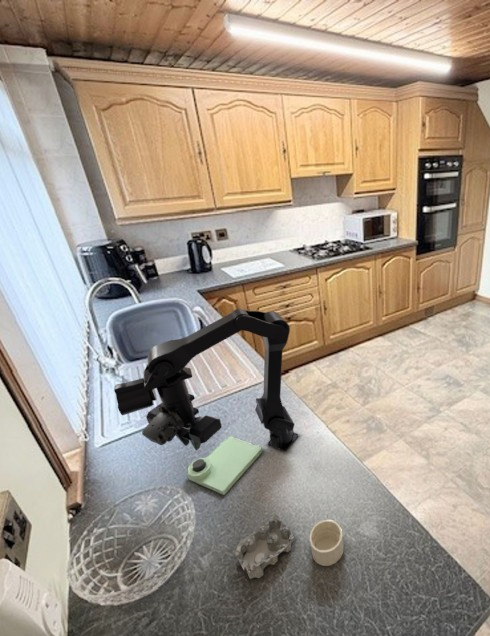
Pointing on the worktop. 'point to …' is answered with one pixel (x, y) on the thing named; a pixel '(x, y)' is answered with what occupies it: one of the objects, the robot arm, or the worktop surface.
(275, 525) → the egg carton
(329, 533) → the cup
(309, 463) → the worktop surface
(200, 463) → the button
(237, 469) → the scale
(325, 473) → the worktop surface
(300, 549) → the worktop surface
